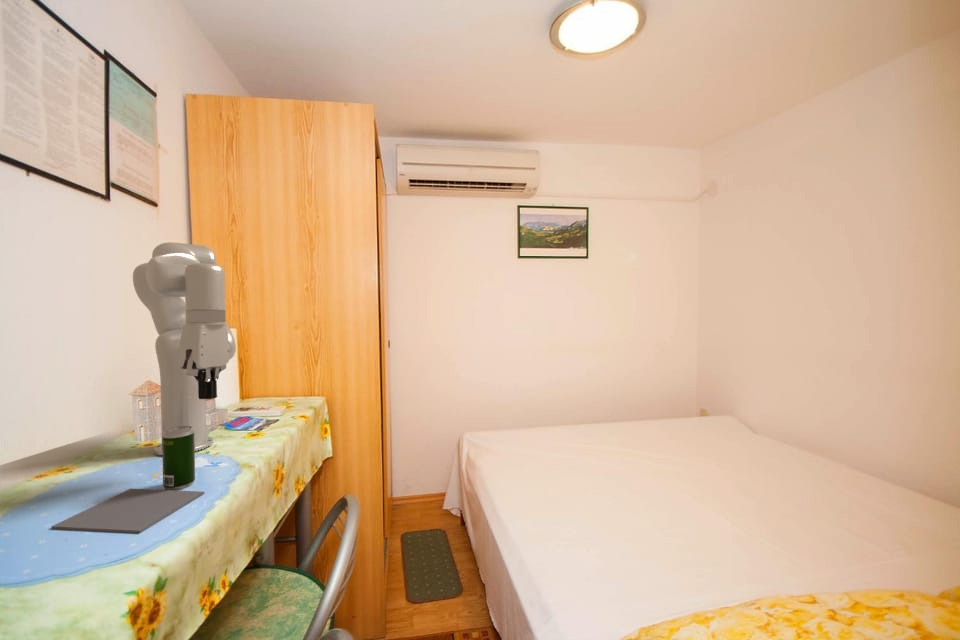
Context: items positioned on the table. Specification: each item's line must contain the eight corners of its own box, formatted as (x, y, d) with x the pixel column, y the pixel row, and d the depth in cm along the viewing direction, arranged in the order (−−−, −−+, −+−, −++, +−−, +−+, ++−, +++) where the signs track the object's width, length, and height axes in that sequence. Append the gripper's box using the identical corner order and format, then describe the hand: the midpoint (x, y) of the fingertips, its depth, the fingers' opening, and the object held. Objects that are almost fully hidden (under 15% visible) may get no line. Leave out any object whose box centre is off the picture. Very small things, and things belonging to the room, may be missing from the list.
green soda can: (183, 491, 80) (182, 433, 80) (156, 491, 80) (155, 433, 80) (200, 479, 86) (200, 425, 86) (175, 480, 86) (174, 425, 85)
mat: (130, 490, 81) (130, 488, 81) (204, 493, 79) (204, 491, 79) (51, 528, 67) (51, 526, 67) (139, 533, 66) (139, 530, 66)
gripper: (214, 318, 98) (216, 391, 98) (162, 319, 83) (164, 405, 83) (243, 317, 97) (245, 391, 97) (195, 318, 82) (197, 406, 82)
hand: (207, 398), depth 90 cm, fingers closed
